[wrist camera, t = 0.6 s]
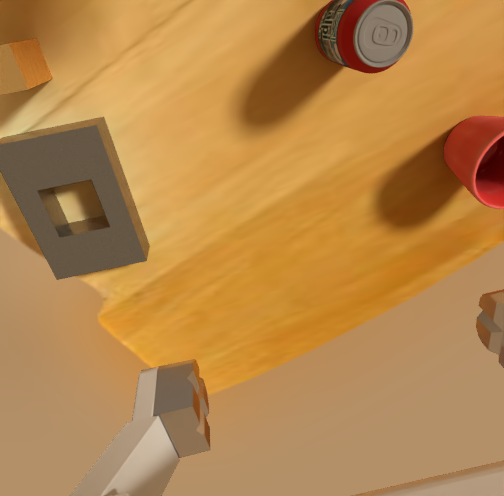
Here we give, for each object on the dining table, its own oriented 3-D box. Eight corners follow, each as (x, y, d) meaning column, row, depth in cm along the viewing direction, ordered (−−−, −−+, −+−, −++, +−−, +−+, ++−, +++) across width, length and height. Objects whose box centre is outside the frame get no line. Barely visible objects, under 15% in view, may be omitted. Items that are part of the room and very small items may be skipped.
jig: (2, 137, 47) (-12, 147, 44) (103, 116, 47) (96, 124, 44) (65, 263, 56) (57, 279, 53) (149, 245, 57) (146, 260, 53)
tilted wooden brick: (-1, 46, 43) (-36, 52, 36) (36, 38, 43) (8, 43, 36) (17, 85, 45) (-13, 97, 38) (52, 78, 45) (28, 89, 38)
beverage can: (320, -10, 44) (358, -17, 33) (377, 0, 45) (432, -4, 35) (307, 58, 47) (338, 70, 37) (361, 66, 48) (406, 80, 38)
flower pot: (472, 193, 59) (518, 222, 50) (415, 163, 55) (455, 190, 47) (524, 126, 55) (584, 146, 46) (466, 89, 51) (519, 104, 43)
